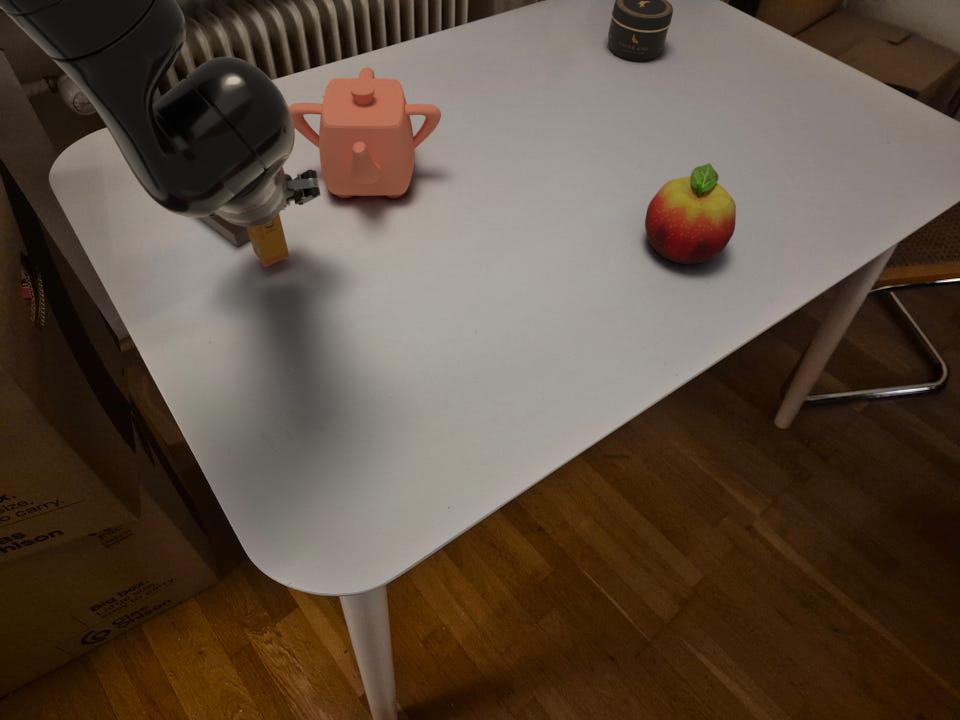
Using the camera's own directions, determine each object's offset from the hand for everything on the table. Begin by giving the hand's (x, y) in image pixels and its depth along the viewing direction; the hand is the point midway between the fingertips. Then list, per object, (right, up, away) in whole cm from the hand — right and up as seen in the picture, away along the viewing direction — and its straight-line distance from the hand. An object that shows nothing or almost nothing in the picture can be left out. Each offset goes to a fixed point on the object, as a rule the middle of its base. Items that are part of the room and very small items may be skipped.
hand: (258, 203), depth 75 cm
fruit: (+51, -3, +11) cm, 52 cm away
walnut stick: (-9, +1, +9) cm, 13 cm away
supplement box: (0, -5, +4) cm, 7 cm away
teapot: (+10, +7, +15) cm, 20 cm away
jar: (+52, +37, +42) cm, 76 cm away
